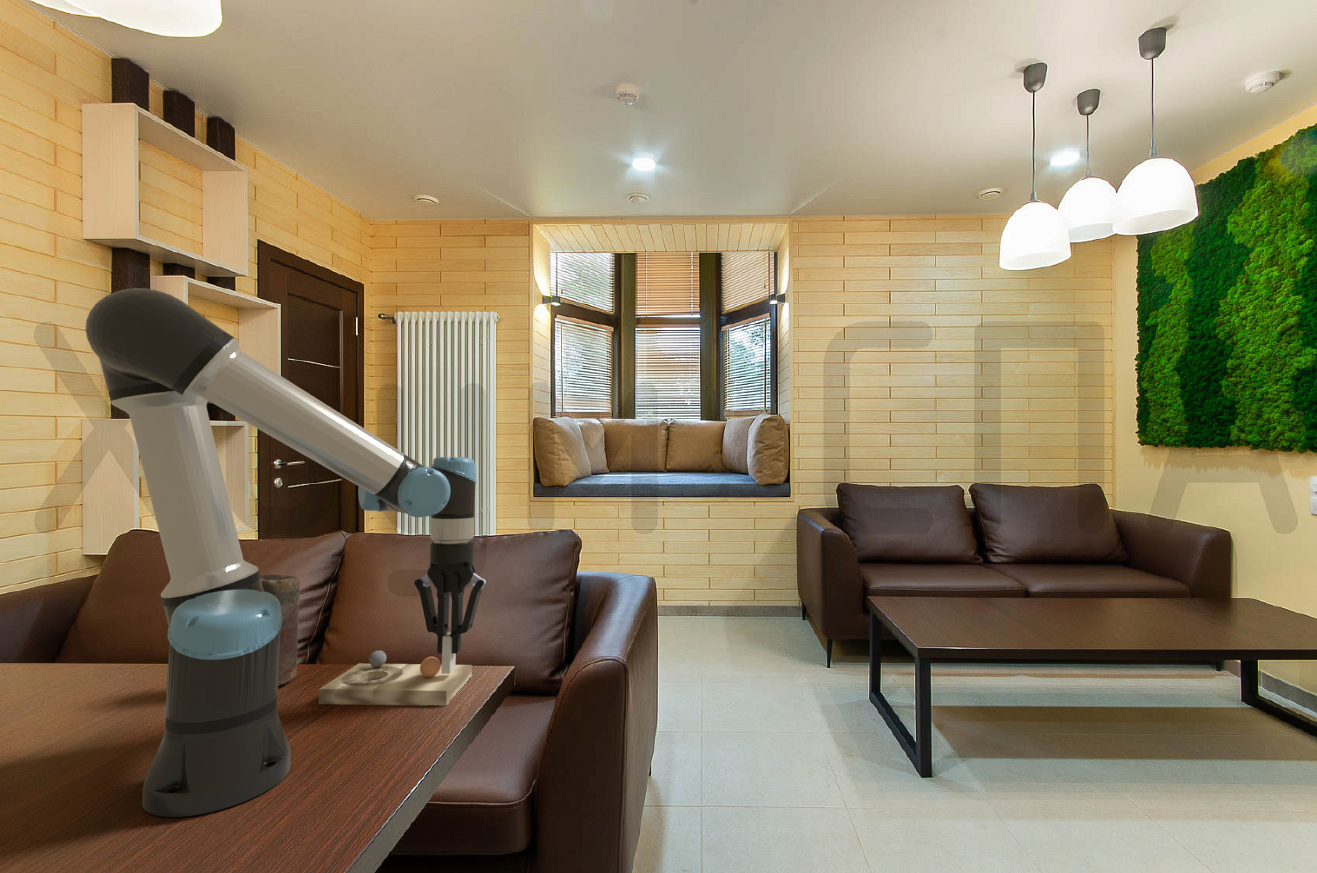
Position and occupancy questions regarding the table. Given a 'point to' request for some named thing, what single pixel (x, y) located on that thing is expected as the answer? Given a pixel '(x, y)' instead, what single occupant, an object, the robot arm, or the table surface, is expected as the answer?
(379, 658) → the grey ball
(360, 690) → the board
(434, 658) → the orange ball
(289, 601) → the candle
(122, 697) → the table surface
